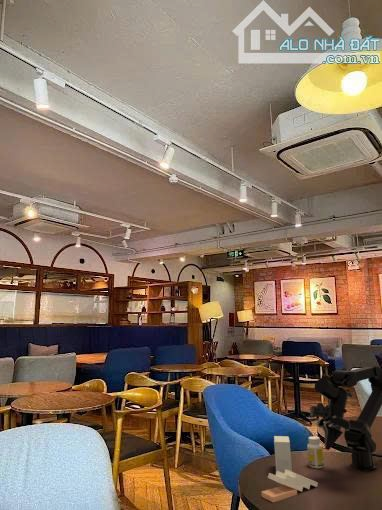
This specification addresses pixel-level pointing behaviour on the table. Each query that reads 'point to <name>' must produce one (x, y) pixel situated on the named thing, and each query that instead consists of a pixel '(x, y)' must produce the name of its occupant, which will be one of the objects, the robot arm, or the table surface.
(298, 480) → the domino
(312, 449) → the supplement bottle
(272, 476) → the domino
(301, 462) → the table surface
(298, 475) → the domino
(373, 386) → the robot arm
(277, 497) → the domino
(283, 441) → the small box
